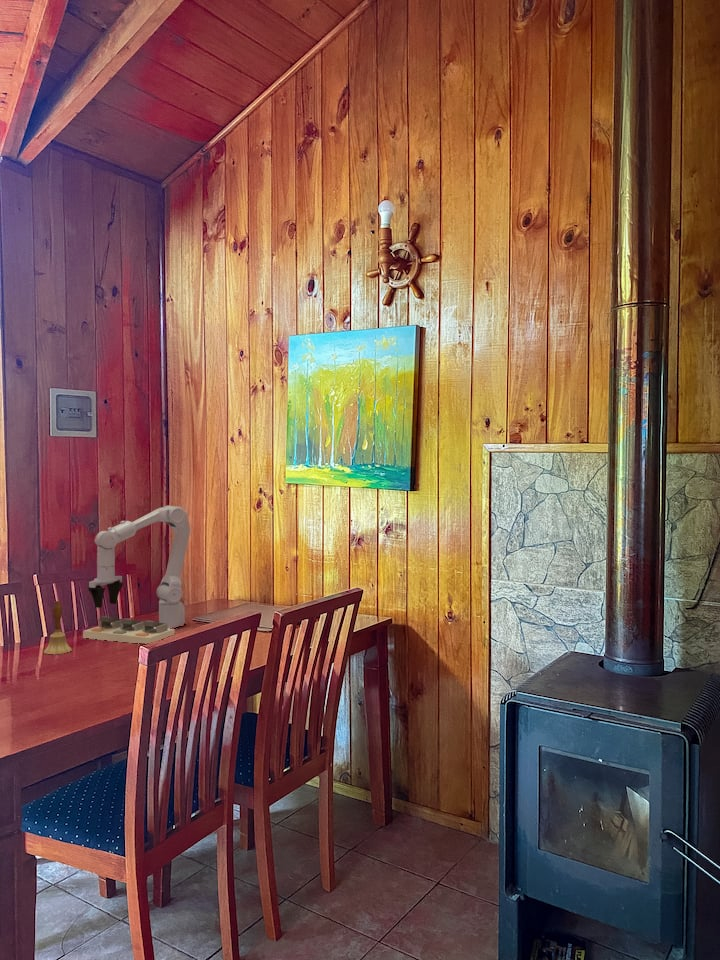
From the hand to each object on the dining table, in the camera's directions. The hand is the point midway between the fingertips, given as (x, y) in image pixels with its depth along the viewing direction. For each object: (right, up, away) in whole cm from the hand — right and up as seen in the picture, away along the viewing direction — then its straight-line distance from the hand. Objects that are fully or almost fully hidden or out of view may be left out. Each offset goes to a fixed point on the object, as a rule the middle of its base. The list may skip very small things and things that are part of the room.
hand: (105, 605), depth 250 cm
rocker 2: (+18, -6, -3) cm, 19 cm away
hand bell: (-8, -11, -22) cm, 25 cm away
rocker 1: (+1, -6, +3) cm, 6 cm away
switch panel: (+9, -11, -2) cm, 14 cm away
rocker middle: (+9, -6, 0) cm, 11 cm away
